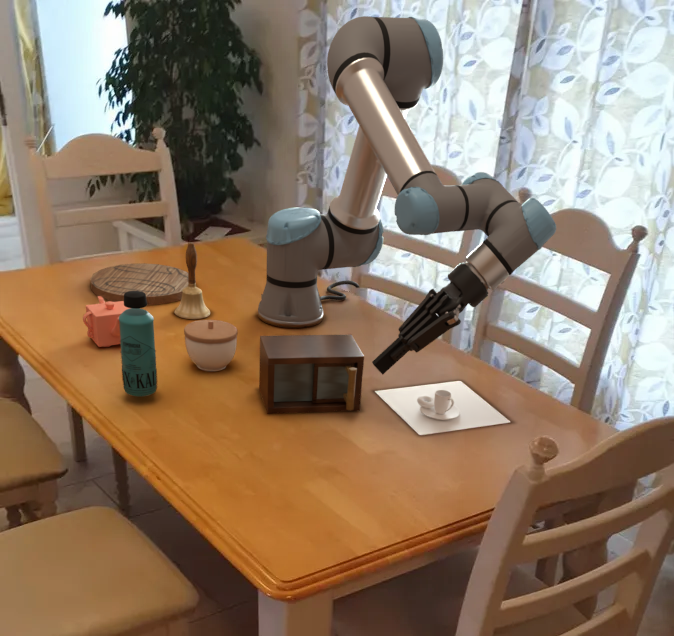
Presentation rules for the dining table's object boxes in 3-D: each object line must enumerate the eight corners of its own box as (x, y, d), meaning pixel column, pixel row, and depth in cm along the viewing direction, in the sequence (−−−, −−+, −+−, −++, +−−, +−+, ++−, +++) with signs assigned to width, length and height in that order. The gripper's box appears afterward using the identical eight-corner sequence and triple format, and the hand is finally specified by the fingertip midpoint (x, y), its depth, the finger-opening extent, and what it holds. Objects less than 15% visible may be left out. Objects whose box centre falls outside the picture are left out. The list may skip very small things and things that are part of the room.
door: (350, 400, 175) (354, 358, 170) (357, 412, 171) (360, 370, 166) (311, 401, 173) (314, 359, 168) (317, 414, 169) (319, 370, 164)
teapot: (128, 325, 202) (125, 288, 197) (151, 350, 192) (149, 311, 187) (75, 332, 197) (71, 294, 192) (96, 357, 187) (92, 318, 182)
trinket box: (228, 379, 183) (228, 333, 177) (178, 371, 184) (176, 326, 178) (243, 359, 191) (243, 315, 185) (195, 352, 192) (193, 308, 187)
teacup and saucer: (410, 404, 178) (413, 385, 176) (445, 400, 181) (448, 381, 179) (431, 424, 172) (434, 404, 170) (467, 419, 175) (470, 399, 172)
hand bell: (216, 310, 213) (215, 240, 203) (200, 322, 206) (198, 250, 197) (184, 304, 215) (181, 234, 205) (168, 315, 208) (164, 244, 199)
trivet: (111, 266, 233) (110, 259, 232) (205, 277, 232) (205, 269, 230) (75, 298, 213) (74, 290, 212) (178, 309, 212) (178, 301, 210)
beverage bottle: (125, 389, 176) (117, 286, 164) (160, 390, 176) (154, 287, 164) (121, 404, 170) (113, 298, 158) (157, 405, 171) (151, 299, 159)
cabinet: (347, 387, 183) (351, 334, 177) (359, 410, 175) (364, 356, 168) (259, 389, 180) (259, 335, 173) (267, 413, 171) (268, 358, 165)
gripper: (501, 304, 157) (398, 396, 164) (476, 279, 167) (381, 367, 174) (477, 273, 153) (373, 369, 160) (453, 250, 163) (356, 341, 170)
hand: (377, 368), depth 167 cm, fingers closed
